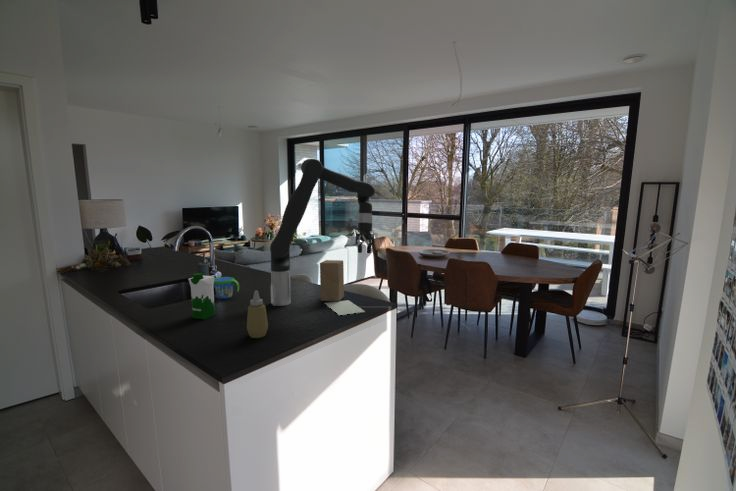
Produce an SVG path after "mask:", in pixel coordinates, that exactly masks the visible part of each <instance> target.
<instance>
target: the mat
mask: <svg viewBox="0 0 736 491" xmlns="http://www.w3.org/2000/svg"><path fill="white" fill-rule="evenodd" d="M325 304H326V305H327V306H326V305H325ZM324 305H325V306H326V307H327V308H329V309H330V308H331V309H332V310H331V309H330V310H331V311H332V312H334V313H335V312H336V313H337V315H338V316H340V315H343V316H348V315H347V314H350V315H354V313H356V314H362V313H366V311H365V310H364V309H362V308H361V307H359V306H358V305H356V304H355V303H353V302H352V301H350V300H340V301H339V302H336V301H329V302H324ZM336 313H335V314H336ZM340 317H341V316H340Z"/></svg>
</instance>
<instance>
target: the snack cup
mask: <svg viewBox="0 0 736 491" xmlns="http://www.w3.org/2000/svg"><path fill="white" fill-rule="evenodd" d="M234 284H235V285H236V286H237V287H236V292H239V291H240V283H239V282H238V281H237V280H236V279H235V278H234V277H233V276H231V277H230V276H221V277H215V278H214V284H213V286H214V289H215V294H216V298H217V299H219V300H224V299H231V298H232V296H233V292H234Z"/></svg>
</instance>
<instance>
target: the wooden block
mask: <svg viewBox="0 0 736 491" xmlns="http://www.w3.org/2000/svg"><path fill="white" fill-rule="evenodd" d="M344 268H345V267H344V260H340V259H339V260H338V259H336V260H335V259H333V260H331V259H325V260H324V261H323V260H322V261H321V262H320V263H319V274H320V275H319V279H320V280H319V282H320V284H319V285H320V287H319V289H320V301H321V302H339V301H342V299H343V298H344V297H345V286H344V284H345V283H344V282H345V281H344V280H345V277H344V275H345V274H344Z"/></svg>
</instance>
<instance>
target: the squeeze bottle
mask: <svg viewBox="0 0 736 491" xmlns="http://www.w3.org/2000/svg"><path fill="white" fill-rule="evenodd" d="M249 302H250V304H249V306H248V307H247V318H246V319H247V320H246V331H247V332H248V335H249V337H250V338H252V339H260V338H264V337H265V336H266V335H267V332H268V328H269V323H268V322H269V321H268V316H267V308H266V305H265V304H264V302H263V298H260V295H259V291H258V290H254V292H253V298H252V299H250V300H249Z"/></svg>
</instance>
